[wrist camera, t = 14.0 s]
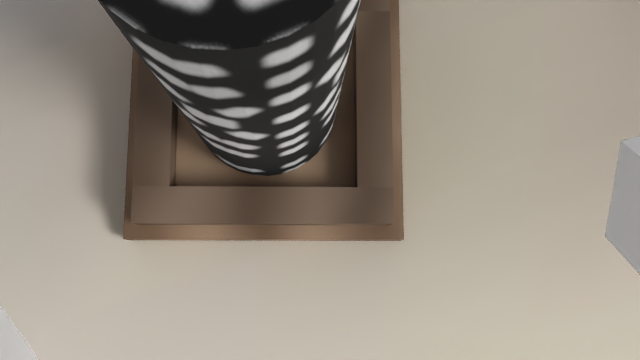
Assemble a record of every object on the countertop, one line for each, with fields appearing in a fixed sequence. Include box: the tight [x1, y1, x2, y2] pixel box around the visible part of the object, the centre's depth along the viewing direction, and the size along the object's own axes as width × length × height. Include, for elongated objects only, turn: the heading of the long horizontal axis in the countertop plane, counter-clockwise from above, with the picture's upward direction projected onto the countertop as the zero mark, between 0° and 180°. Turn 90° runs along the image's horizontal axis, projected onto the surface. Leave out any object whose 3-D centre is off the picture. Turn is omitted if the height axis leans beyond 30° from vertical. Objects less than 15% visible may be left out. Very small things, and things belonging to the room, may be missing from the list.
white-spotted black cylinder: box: [98, 0, 360, 176], centre depth 26 cm, size 8×8×20 cm
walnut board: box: [123, 0, 404, 241], centre depth 35 cm, size 16×16×3 cm
